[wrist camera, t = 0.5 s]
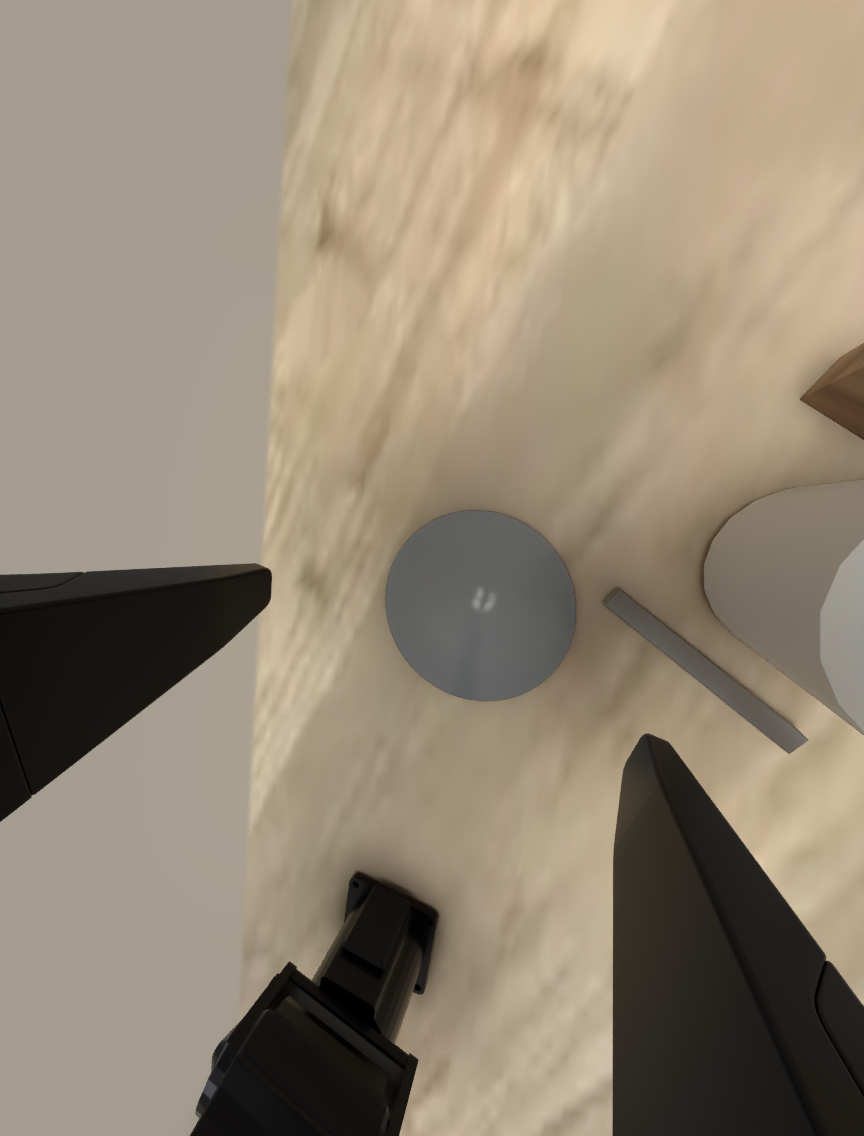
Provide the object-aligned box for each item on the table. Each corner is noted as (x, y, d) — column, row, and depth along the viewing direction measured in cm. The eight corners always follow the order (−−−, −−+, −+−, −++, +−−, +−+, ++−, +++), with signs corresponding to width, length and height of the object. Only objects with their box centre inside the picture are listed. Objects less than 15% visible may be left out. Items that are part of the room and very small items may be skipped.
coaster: (553, 722, 22) (552, 726, 22) (378, 668, 26) (375, 670, 26) (596, 528, 20) (597, 528, 20) (400, 497, 24) (398, 496, 23)
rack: (776, 739, 19) (860, 834, 13) (603, 600, 21) (613, 632, 15) (1094, 506, 15) (1411, 501, 9) (841, 356, 17) (977, 275, 11)
